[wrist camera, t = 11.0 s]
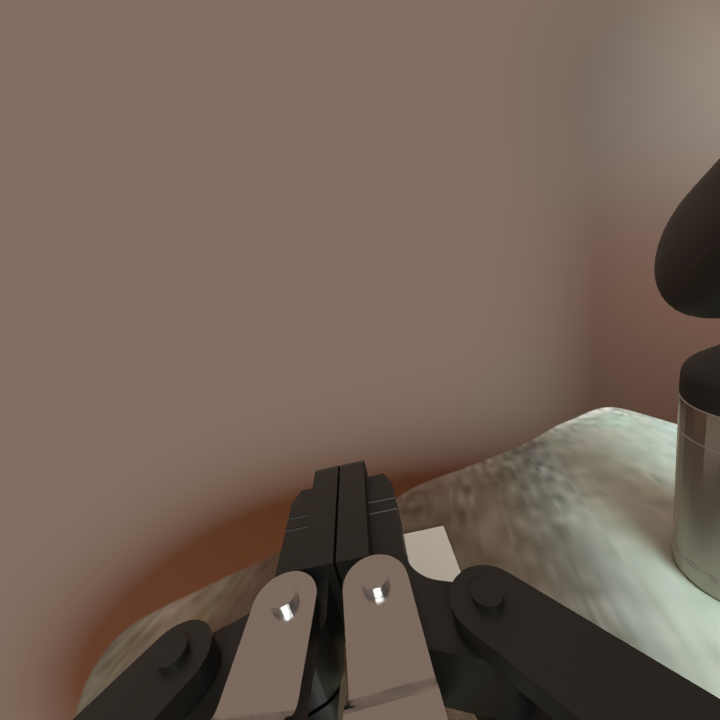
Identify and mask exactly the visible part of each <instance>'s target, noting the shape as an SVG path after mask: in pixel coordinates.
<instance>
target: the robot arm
mask: <svg viewBox="0 0 720 720" xmlns="http://www.w3.org/2000/svg"><path fill="white" fill-rule="evenodd" d="M654 270H655V279H656V284H657V287H658V290H659V291H660V293H661V295H662V297H663V298H664V300H665V301H666V302H667V303H668V304H669V305H670V306H671V307H673V308H674V309H675V310H677V311H679V312H681V313H683V314H686V315H690V316H694V317H700V318H720V159H719V160H718V161H717V162H716V163H715V164H714V165H713V167H712V168H711V169H710V170H709V171H708V172H707V173H706V174H705V175H704V176H703V177H702V179H701V180H700V181H699V182H698V183H697V184H696V185H695V186H694V187H693V189H692V190H691V191H690V192H689V193H688V194H687V195H686V197H685V198H684V199H683V200H682V202H681V203H680V204H679V205H678V207H677V208H676V210H675V212H674V213H673V215H672V216H671V218H670V219H669V221H668V223H667V225H666V227H665V229H664V231H663V234H662V236H661V239H660V242H659V245H658V248H657V252H656V257H655V267H654ZM672 554H673V557H674V560H675V562H676V564H677V565H678V567H679V568H680V570H681V571H682V572H683V573H684V574H685V575H686V576H687V577H688V579H689V580H691V581H692V582H693V583H694V584H695V585H697V586H698V587H699V588H700V589H702V590H703V591H705V592H706V593H708V594H710V595H711V596H713V597H714V598H716V599H718V600H720V345H717V346H714V347H711V348H708V349H705V350H703V351H700V352H698V353H696V354H694V355H693V356H691V357H689V358H688V359H687V360H686V361H685V362H684V364H683V365H682V367H681V371H680V381H679V401H678V427H677V450H676V472H675V494H674V516H673V540H672ZM344 642H346V656H347V673H348V691H349V701H348V705H346V690H347V677H346V672H345V669H344ZM345 705H346V706H345ZM444 706H445V707H449V708H453V709H456V710H460V711H464V712H468V713H472V714H475V716H476V718H477V719H478V720H720V699H719V698H717V697H716V696H714V695H712V694H711V693H709V692H707V691H706V690H704V689H702V688H701V687H699V686H697V685H696V684H694V683H692V682H691V681H689V680H687V679H685V678H684V677H682V676H680V675H679V674H677V673H675V672H674V671H672V670H670V669H669V668H667V667H665V666H664V665H662V664H660V663H659V662H657V661H655V660H654V659H652V658H650V657H649V656H647V655H645V654H644V653H642V652H640V651H639V650H637V649H635V648H634V647H632V646H630V645H629V644H627V643H625V642H624V641H622V640H620V639H619V638H617V637H615V636H613V635H612V634H610V633H608V632H607V631H605V630H603V629H602V628H600V627H598V626H597V625H595V624H593V623H592V622H590V621H588V620H587V619H585V618H583V617H582V616H580V615H578V614H577V613H575V612H573V611H572V610H570V609H568V608H567V607H565V606H563V605H562V604H560V603H558V602H557V601H555V600H553V599H552V598H550V597H548V596H547V595H545V594H543V593H542V592H540V591H538V590H536V589H535V588H533V587H531V586H530V585H528V584H526V583H525V582H523V581H521V580H520V579H518V578H516V577H515V576H513V575H511V574H510V573H508V572H506V571H504V570H502V569H500V568H497V567H494V566H489V565H477V566H473V567H469V568H467V569H465V570H463V571H462V572H460V573H459V574H458V575H457V576H456V578H455V579H454V580H453V582H449V581H441V580H435V579H431V578H428V577H425V576H423V575H421V574H420V573H418V572H417V571H416V570H415V569H414V568H413V567H412V566H411V565H410V564H409V561H408V556H407V550H406V545H405V540H404V535H403V529H402V524H401V520H400V515H399V511H398V507H397V502H396V498H395V494H394V490H393V485H392V483H391V482H390V480H389V479H388V478H387V477H386V476H385V475H384V474H380V475H375V476H370V477H368V474H367V470H366V466H365V463H364V461H359V462H354V463H349V464H344V465H341V466H336V467H331V468H327V469H321V470H317V471H316V472H315V477H314V483H313V489H308V490H303V491H301V492H300V494H299V495H298V496H297V498H296V499H295V501H294V502H293V503H292V506H291V511H290V515H289V521H288V524H287V528H286V533H285V537H284V541H283V545H282V549H281V554H280V558H279V562H278V567H277V571H276V575H275V578H274V579H272V580H271V581H270V582H269V583H267V584H266V585H265V586H264V588H263V589H262V590H261V591H260V592H259V594H258V596H257V597H256V599H255V601H254V604H253V606H252V609H251V612H250V613H249V614H248V615H246V616H244V617H243V618H241V619H239V620H237V621H235V622H233V623H231V624H230V625H228V626H226V627H224V628H222V629H220V630H218V631H216V632H214V633H212V631H211V629H210V627H209V626H208V624H207V623H205V622H204V621H201V620H189V621H186V622H183V623H181V624H178V625H176V626H175V627H173V628H171V629H170V630H169V631H167V632H166V633H164V634H163V635H162V636H161V637H160V638H159V639H158V640H157V641H156V642H154V643H153V644H152V645H151V646H150V647H149V648H148V649H147V650H146V651H145V652H144V653H143V654H142V655H141V656H140V657H139V658H138V659H136V660H135V661H134V662H133V663H132V664H131V665H130V666H129V667H128V668H127V669H126V670H125V671H124V672H123V673H122V674H121V675H120V676H118V677H117V678H116V679H115V680H114V681H113V682H112V683H111V684H110V685H109V686H108V687H107V688H106V689H105V690H104V691H103V692H102V693H100V694H99V695H98V696H97V697H96V698H95V699H94V700H93V701H92V702H91V703H90V704H89V705H88V706H87V707H86V708H85V709H84V710H82V711H81V712H80V713H79V714H78V715H77V716H76V717H75V718H74V719H73V720H448V718H447V715H446V711H445V707H444Z"/></svg>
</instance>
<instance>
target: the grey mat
mask: <svg viewBox="0 0 720 720" xmlns="http://www.w3.org/2000/svg"><path fill="white" fill-rule="evenodd" d="M403 535H404V540H405V545H406V550H407V556H408V561H409V564H410V565H411V566H412V567H413V568H414V569H415V570H416V571H417V572H418V573H420V574H421V575H423V576H425V577H428V578H431V579H435V580H441V581H449V582H453V580H454V579H455V578H456V576H457V575H458V574H459V573H460V569H459V566H458V564H457V561H456V558H455V556H454V553H453V550H452V548H451V545H450V542H449V540H448V537H447V534H446V532H445V529H444V526H440V527H435V528H431V529H426V530H421V531H416V532H412V533H407V534H403Z"/></svg>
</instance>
